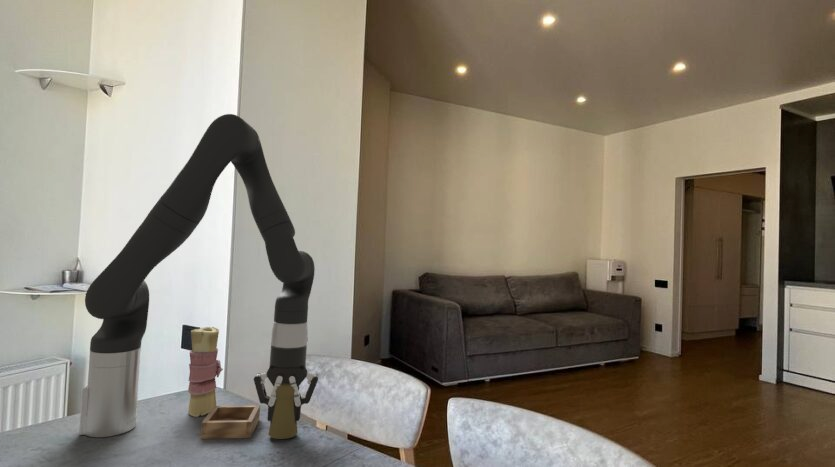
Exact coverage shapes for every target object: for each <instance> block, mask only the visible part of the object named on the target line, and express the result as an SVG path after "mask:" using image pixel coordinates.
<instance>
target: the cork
mask: <svg viewBox="0 0 835 467" xmlns="http://www.w3.org/2000/svg"><path fill="white" fill-rule="evenodd" d="M293 387H294V386H293ZM293 387H292V386H291V385H290V384H289V383H282V384H281V385H280V386H277V389H276V390H275V391H276V400H275V404H274V407H275V408H274V413H273V418H272V423H271V424H269V425H270V426H269V430H268V436H269V437H270V438H272V439H278V440H283V439H290V438H293V437H295V436H296V435H297V434H298V421H296V424H295V416H294V407H295V401H294V392H295V390H294V388H293Z"/></svg>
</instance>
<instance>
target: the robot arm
mask: <svg viewBox="0 0 835 467" xmlns="http://www.w3.org/2000/svg"><path fill="white" fill-rule="evenodd" d="M230 163H231V164H232V165H233V166H234V168H235V170H236V171H237V172H238V175H239V176H240V178H241V180H242V182H243V184H244V187H245V189H246V194H247V199H248V204H249V208H250V213H251V215H252V218H253V219H254V222H255V224H256V226H257V229H258V231H259V233H260V235H261V237H262V239H263V241H264V246H265V251H266V256H267V260H268V264H269V266H270V269H271V271H272V273H273V275H274V276H275V277H276V279H277V280H278V281H280V282H281V283H283V284H282V288H281V289H282V290H281V292H280V294H279V295H278V296H277V297H276V300H275V303H274V313H273V324H272V330H271V340H270V341H271V342H270V353H269V354H270V355H269V368H267V371H266V372H263V373H259V372H258V373H256V374H255V376H254V377H253V382H254V386H255V389H256V393H257V397H258V400H259V403H260V404H265V405H266V406H267V421H268V422H269V423H270V424H271V423H272V418H273V413H274V408H275V407H274V404H275V400H276V391H275V390H276V389H277V386H280V385H281V384H282V383H289V384H290V385H291V386H292V387H293V386H294V387H293V388H294V390H295V392H294V401H295V407H294V416H295V424H296V421H297V422H298V421H299V422H300V419H301V413H302V412H301V411H302V410H301V409H302V406H303V405H304V404H307V405H308V404H309V403H310V402H311V398H312V397H313V394H314V392H315V388H316V386H317V383H318V382H319V374H318V373H314V374H313V373H310V372H308V370H307V367H306V365H307V364H306V363H307V347H308V339H309V338H308V334H309V333H308V316H309V313H308V312H309V311H308V310H309V300H310V295H311V292H312V288H313V284H314V279H315V271H316V269H315V262H314V259H313V258H312V256H311V255H310V254H309V253H308V252H306V251H302V250H299V249H298V246H297V244H296V241H295V239H294V237H295V235H296V229H295V227H294V225H293V222H292V219H291V218H290V215H289V213H288V211H287V209H286V207H285V205H284V202H283V201H282V198H281V197H280V195H279V191H278V190H277V188H276V186H275V184H274V181H273V179H272V176H271V174H270V170H269V168H268V164H267V162H266V158H265V154H264V150H263V146H262V143H261V139H260V136H259V134H258V132H257V131H256V129H254V127H252V126H251V125H250V124H249V123H248V122H246V121H245V119H244V118H241V117H240V116H238V115H236V114H233V113H227V114H222V115H219V116H218V117H217V118H215V119H214V120H213V121H212V122H211V123H210V124H209V125H208V127H207V129H206V130H205V132H204V133H203V135H202V137H201V139H200V140H199V142H198V144H197V146H196V147H195V149H194V151H193V152H192V154H191V155H190V157H189V159H188V160H187V162H186V163H185V164H184V166H183V168H182V169H181V170H180V171H179V172H178V173H177V175H176V177H175V178H174V180H173V181H172V182H171V184H170V185H169V187H168V188H167V189H166V190H165V192H164V193H163V194H162V195H161V196H160V197H159V199H158V201H157V202H156V203H155V204H154V205H153V207H152V208H151V210H150V211H149V212H148V213H147V215H146V217H145V218H144V220H143V221H142V223H141V224H140V225H139V226H138V228H137V229H136V230H135V232H134V233H132V236H131V237H130V238H129V240H128V241H127V242H126V244H125V245H124V246H123V248H122V249H121V250H120V252H119V253H118V254H117V255H116V257H114V259H112V261H111V262H110V263H109V264H108V265H107V266H106V267H105V269H103V271H102V272H101V273H100V274H98V276H96V278H95V279H94V280H93V281H92V282H91V283H90V285H89V286H88V288H87V290H86V293H85V298H84V305H85V308H86V310H87V312H88V314H89V315H91V316H92V317H94V318H95V319H99V320H102V323H101V325H100V327H99V329H98V330H97V331H96V332H95V334H94V335H93V336H92V337H91V339H90V341H89V343H90V345H89V356H88V357H89V360H88V370H87V372H88V373H87V386H84V387H82V391H81V405H80V417H79V418H80V419H79V432H78V435H81V436H84V435H85V436H87V437H90V438H107V437H115V436H118V435H121V434H124V433H127V432H129V431H131V430H133V429H134V428H135V427H136V426H137V418H138V417H137V416H138V415H137V409H138V399H139V398H138V397H139V396H138V395H139V385H140V384H139V382H140V371H141V370H140V368H141V366H140V365H141V354H142V353H141V352H142V341H143V338H144V335H145V333H146V331H147V325H148V318H149V317H148V316H149V309H150V308H149V307H150V290H149V285H148V284H147V282H146V278H148V276H149V274H150V273H151V272H152V271H153V269H154V268H155V267H157V266H158V265H159V264H160V263H161V262H162V261H164V260H165V259H167V258H168V257H169V256H170V255H171V254H172V253H173V252H175V251H176V250H177V249H178V248H180V247H181V246H182V245H183V244H184V243H185V241H187V240H188V239H189V237H190V236H191V235H192V233H193V232H194V231H195V230H196V228H197V227H198V226H199V224H200V222H202V220H203V218H204V217H205V214H206V212H207V210H208V208H209V205H210V204H209V203H210V200H211V198H212V192H213V189H214V187H215V184H216V182H217V180H218V179H219V177H220V175H221V174H222V172H223V171H224V170H225V169H226V168H227V166H228V165H229V164H230ZM267 379H268V381H269V382H270V383H271V385H272V387H273V389H272V391H271V394H270V395H268V394H267V391H266V387H265V383H266V381H267ZM305 379H307V381H306V382H307V384H308V388H307V391H306V393H305V395H303V396H302V394H301V387H300V386H301V384H302V383H303V382H304V380H305ZM270 424H269V425H270Z"/></svg>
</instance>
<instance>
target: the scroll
mask: <svg viewBox="0 0 835 467" xmlns="http://www.w3.org/2000/svg"><path fill="white" fill-rule="evenodd" d="M219 333H220V329H219V328H217V327H214V326H212V327H211V326H205V327H200V328H194V329H192V330H190V335H191V349H192V350H189V361H190V363H189V364H188V366H189V368H188V369H189V375H188V382H189V383H188V388H187V389H188V390H187V392H188V393H189V394H190V398H189V403H188V404H189V405H188V414H189V415H190V416H192V417H194V418H195V417H199V416H204V415H207V414H209V413H210V412H211V410H212V409H213V408H214V407H215V406H217V397H216V389H217V384H216V382H217V381H216V378H219V376H220V374H221V372H222V371H223V370H224V368H222V366H221V360H219V359H217V358H218V352H219V349H218V339H219Z"/></svg>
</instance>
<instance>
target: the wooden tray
mask: <svg viewBox="0 0 835 467" xmlns="http://www.w3.org/2000/svg"><path fill="white" fill-rule="evenodd" d="M260 410H261V405H260V404H259V405H216V406H215V407H214V408H213V409H212V410H211V412H209V413H207V414H208V415H207V414H206V417H205V418H204V419H203V420H202V422H201V429H200V430H201V431H200V439H201V440H202V439H203V440H204V439H205V440H207V439H241V438H242V439H243V438H244V439H249V438H252V437H253V436H252V435H253V433H254V432H255V429H256V427H257V425H258V423H259V421H260V415H261V411H260Z"/></svg>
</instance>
